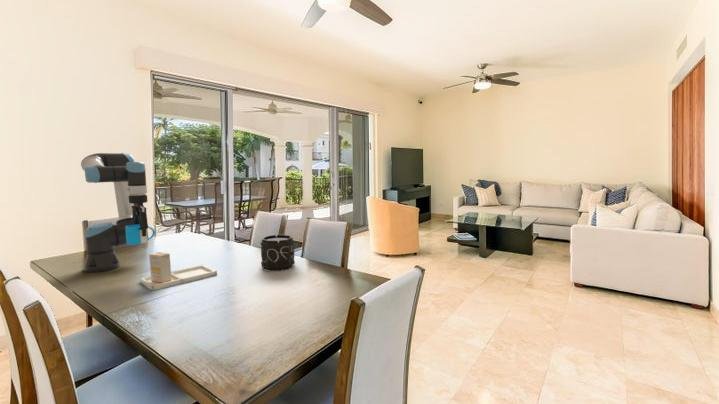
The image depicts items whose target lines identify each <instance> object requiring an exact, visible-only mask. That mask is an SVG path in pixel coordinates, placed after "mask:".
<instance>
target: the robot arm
mask: <svg viewBox="0 0 719 404" xmlns="http://www.w3.org/2000/svg"><path fill="white" fill-rule="evenodd" d="M80 167H81V169H82V170H83V171H84V176H85V177H84V178H85V181H86V182H87V183H94V184H97V183H99V184H100V183H113V186H114V194H115V200H116V207H117V213H118V219H117V220H116V223H115V224H113V222H110V221H109V222H101V223H97V224H93V225H90V226H88V227H86V228H85V230H84V232H85V236H84V238H85V243H86V254H87V255H86V259H85V261H84V265H83V270H84V272H87V273H97V272H104V271H105V272H106V271H111V270H113V269H114V270H115V269H117V268H119V267H120V266H121V264H120V260H119V258H118V256H117V253H116V251H115V247H116V248H117V247H122V246H129V244H127V242H126V229H125V226H129V225H138V224H140V228H139V230H140V240H141V243H142V244H146V243H148V241H149V240H147V239H148V229H149V228H148V227H149V224H148V223H149V222H148V217H147V215H148V214H147V207H145V206H144V204H146V203H148V195H147V194H148V188H147V177H146V176H147V175H146V173H147V172H146V171H147V170H146V165H145V163H144V162H143V161H136V162H135V159H134V157H133V155H131V153H123V152H121V153H119V152H118V153H110V152H109V153H108V152H107V153H106V152H105V153H104V152H103V153H102V152H99V153H92V154H89V155H87V156H85V157H84V158H83V159H82V160H81V162H80Z"/></svg>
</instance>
